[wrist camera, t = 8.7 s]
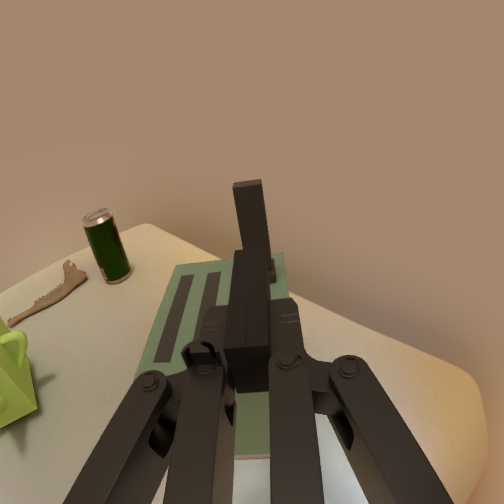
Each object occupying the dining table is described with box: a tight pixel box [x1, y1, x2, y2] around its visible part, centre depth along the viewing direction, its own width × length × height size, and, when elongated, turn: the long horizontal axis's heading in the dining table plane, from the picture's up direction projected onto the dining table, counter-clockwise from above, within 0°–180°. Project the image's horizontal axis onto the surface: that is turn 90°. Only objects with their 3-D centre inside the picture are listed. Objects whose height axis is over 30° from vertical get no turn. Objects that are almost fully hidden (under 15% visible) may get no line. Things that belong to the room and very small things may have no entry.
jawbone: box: [7, 260, 87, 327], centre depth 46 cm, size 9×20×2 cm, turn 165°
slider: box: [233, 179, 277, 283], centre depth 23 cm, size 2×2×8 cm
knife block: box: [133, 253, 289, 459], centre depth 24 cm, size 10×14×11 cm
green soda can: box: [82, 208, 131, 284], centre depth 47 cm, size 5×5×12 cm
